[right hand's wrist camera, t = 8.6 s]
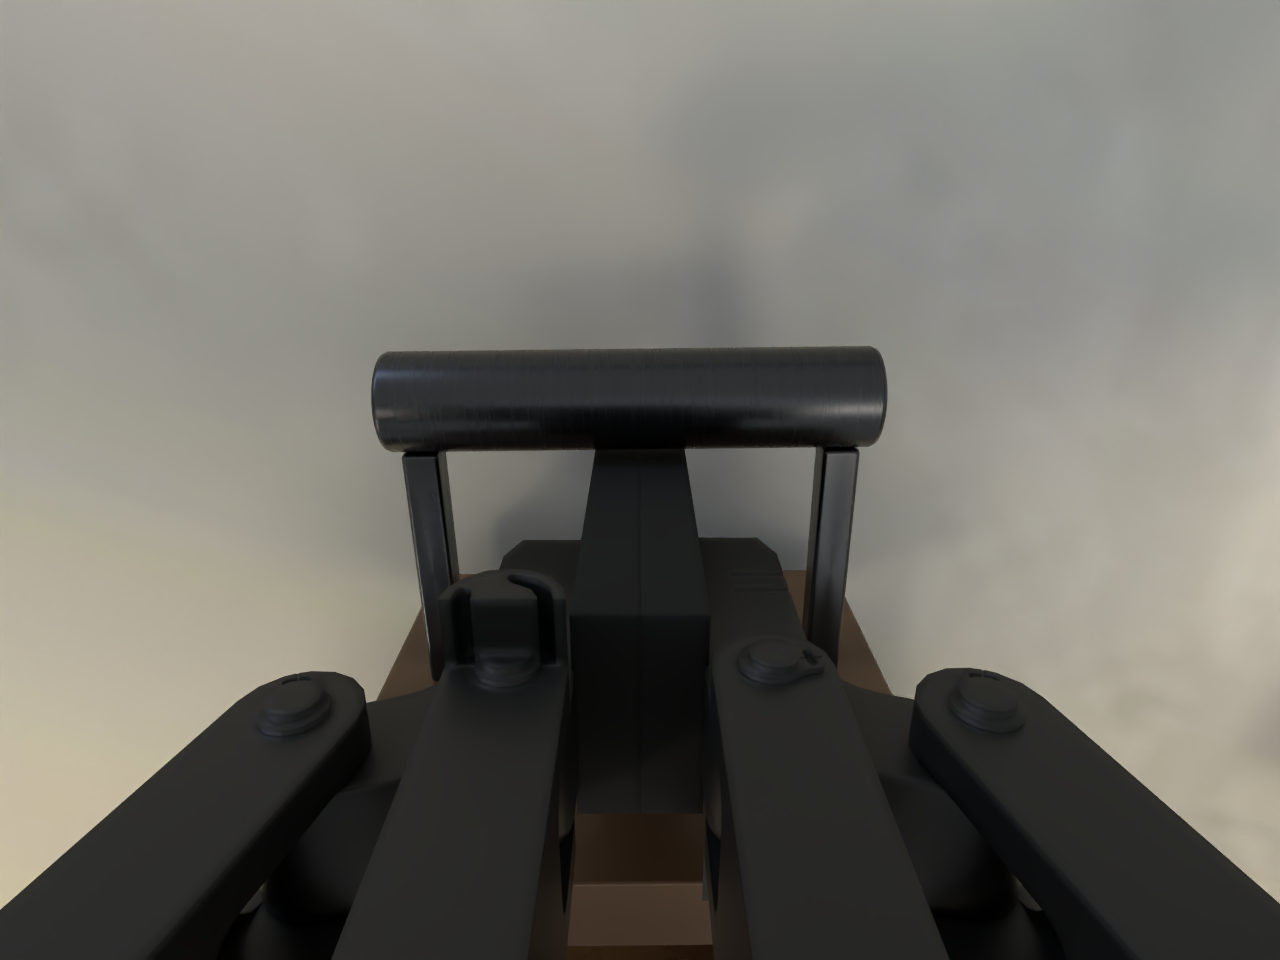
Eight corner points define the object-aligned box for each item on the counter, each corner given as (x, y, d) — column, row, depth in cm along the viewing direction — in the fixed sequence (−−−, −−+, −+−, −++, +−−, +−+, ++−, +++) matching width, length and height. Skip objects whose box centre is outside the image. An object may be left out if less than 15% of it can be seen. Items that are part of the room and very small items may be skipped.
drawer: (403, 311, 16) (174, 456, 8) (857, 306, 16) (1074, 445, 8) (494, 1035, 24) (426, 1451, 16) (788, 1032, 24) (861, 1446, 16)
